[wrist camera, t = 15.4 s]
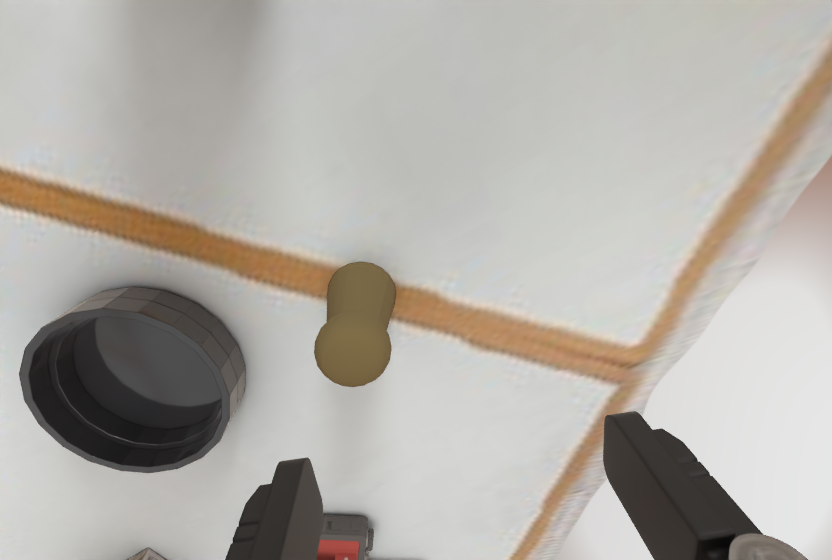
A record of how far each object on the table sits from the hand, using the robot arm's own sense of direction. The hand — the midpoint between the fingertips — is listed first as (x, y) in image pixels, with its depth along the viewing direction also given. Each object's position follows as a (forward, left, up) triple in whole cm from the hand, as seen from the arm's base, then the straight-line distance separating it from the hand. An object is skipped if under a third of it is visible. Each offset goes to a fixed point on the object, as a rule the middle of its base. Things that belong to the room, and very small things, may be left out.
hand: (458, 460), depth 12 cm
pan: (+10, -26, -26) cm, 38 cm away
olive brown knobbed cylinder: (+6, -6, -26) cm, 28 cm away
